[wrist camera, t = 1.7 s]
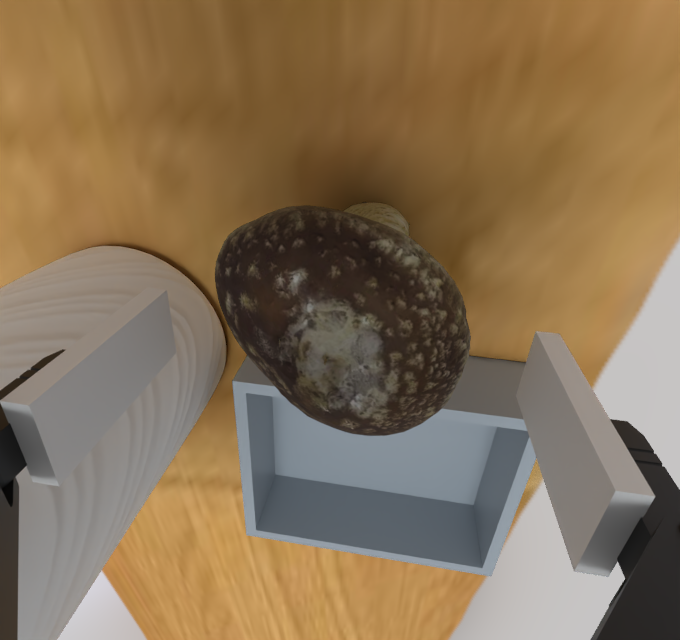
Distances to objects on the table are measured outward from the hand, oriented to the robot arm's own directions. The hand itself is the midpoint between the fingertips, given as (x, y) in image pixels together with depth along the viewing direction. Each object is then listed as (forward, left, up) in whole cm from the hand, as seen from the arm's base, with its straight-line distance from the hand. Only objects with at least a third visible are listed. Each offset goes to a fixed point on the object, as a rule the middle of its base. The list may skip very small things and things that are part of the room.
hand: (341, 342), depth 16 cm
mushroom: (0, 0, -13) cm, 13 cm away
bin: (+16, +2, -13) cm, 20 cm away
